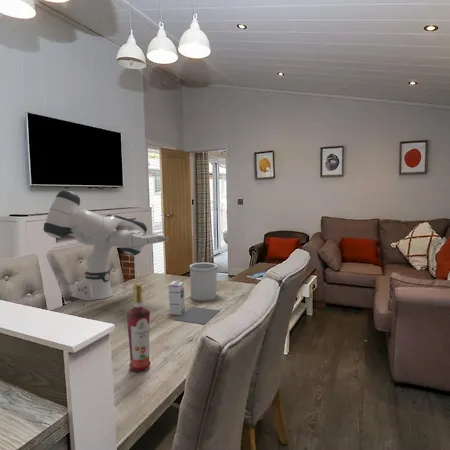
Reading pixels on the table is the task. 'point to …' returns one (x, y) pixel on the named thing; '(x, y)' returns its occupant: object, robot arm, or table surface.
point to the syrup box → (176, 297)
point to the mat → (197, 315)
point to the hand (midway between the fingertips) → (163, 240)
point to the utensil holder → (203, 281)
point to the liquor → (138, 332)
